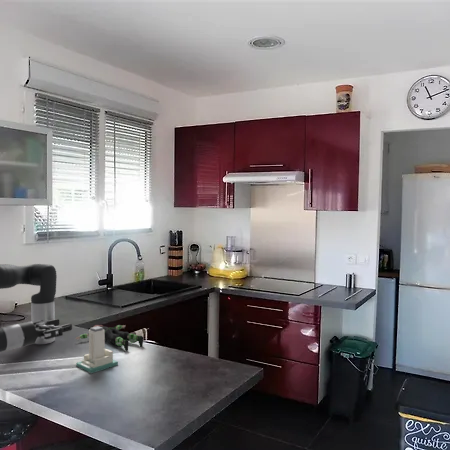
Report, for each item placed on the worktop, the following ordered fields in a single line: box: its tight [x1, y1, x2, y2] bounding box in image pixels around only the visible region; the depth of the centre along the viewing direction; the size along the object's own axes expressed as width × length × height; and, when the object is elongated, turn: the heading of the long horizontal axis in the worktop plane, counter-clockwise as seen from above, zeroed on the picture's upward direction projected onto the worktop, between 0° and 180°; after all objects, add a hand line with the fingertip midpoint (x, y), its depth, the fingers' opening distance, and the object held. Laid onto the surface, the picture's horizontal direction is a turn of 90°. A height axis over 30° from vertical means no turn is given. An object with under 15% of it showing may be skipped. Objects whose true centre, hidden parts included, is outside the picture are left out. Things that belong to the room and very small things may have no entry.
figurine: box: [75, 324, 144, 352], centre depth 192 cm, size 26×6×30 cm
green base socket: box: [75, 348, 119, 374], centre depth 163 cm, size 10×11×5 cm
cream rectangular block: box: [88, 326, 106, 364], centre depth 163 cm, size 4×5×13 cm
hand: (65, 324), depth 154 cm, fingers open, 8 cm apart
